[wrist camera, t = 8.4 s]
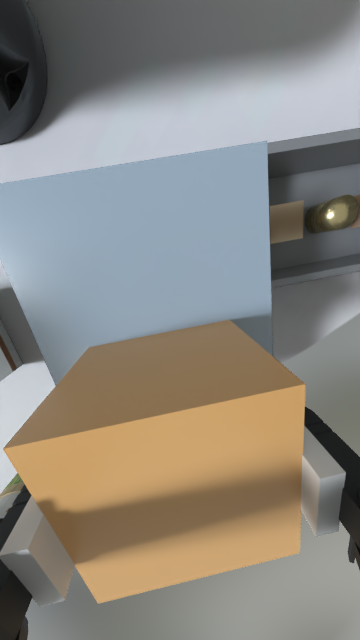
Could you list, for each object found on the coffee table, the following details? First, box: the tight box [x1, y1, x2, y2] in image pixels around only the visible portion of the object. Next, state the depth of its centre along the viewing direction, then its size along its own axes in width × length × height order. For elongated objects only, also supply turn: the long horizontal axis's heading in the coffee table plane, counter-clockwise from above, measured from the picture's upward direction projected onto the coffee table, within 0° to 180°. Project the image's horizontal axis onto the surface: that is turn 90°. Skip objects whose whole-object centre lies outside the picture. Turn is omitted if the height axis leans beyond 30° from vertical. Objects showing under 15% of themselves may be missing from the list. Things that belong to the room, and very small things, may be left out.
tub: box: [267, 128, 360, 288], centre depth 23 cm, size 13×24×8 cm, turn 100°
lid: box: [0, 141, 306, 603], centre depth 10 cm, size 13×24×8 cm, turn 10°
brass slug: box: [305, 195, 359, 233], centre depth 24 cm, size 4×4×4 cm
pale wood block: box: [269, 200, 304, 244], centre depth 24 cm, size 4×4×4 cm
